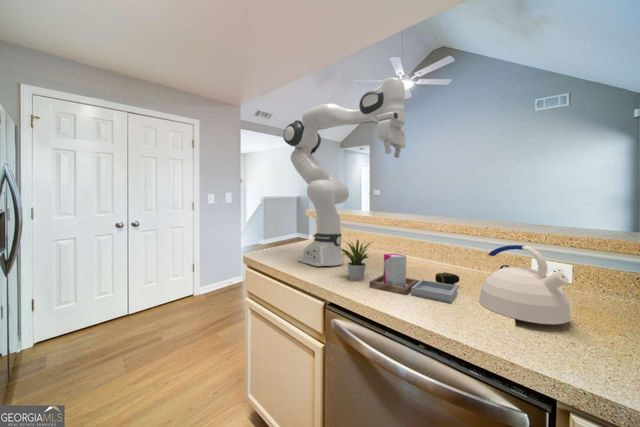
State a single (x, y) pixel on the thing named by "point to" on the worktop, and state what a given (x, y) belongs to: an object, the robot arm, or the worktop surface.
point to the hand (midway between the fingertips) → (392, 155)
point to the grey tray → (435, 291)
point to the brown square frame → (392, 288)
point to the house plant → (356, 261)
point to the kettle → (526, 291)
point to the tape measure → (446, 278)
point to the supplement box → (395, 269)
